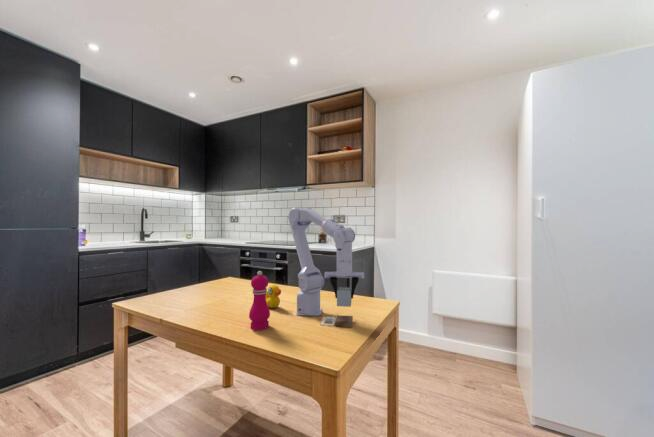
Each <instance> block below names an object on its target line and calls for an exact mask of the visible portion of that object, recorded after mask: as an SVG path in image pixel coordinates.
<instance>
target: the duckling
mask: <svg viewBox="0 0 654 437" xmlns="http://www.w3.org/2000/svg"><path fill="white" fill-rule="evenodd" d="M281 293H282V290H281V289H280V287H279V286H278V285H276V284H272V285H270V286H269V287H268V288H267V293H266V296H265V297H266V303H267V305H268V307H269V309H276V308H278V307H279V305H280V303H281V300H280V297H279V296H280V295H281Z"/></svg>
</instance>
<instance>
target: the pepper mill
mask: <svg viewBox="0 0 654 437" xmlns="http://www.w3.org/2000/svg"><path fill="white" fill-rule="evenodd" d="M256 274H257V275H255V276H253V277H252V278H251V281H250V285H251V287H252V295H253V301H252V305H251V306H250V310H249V314H248V318H249V320H250V329H251V330H252V331H263V330H266V329H268V328H269V326H270V324H269V322H270V321H269V318H270V316H271V312H270V307H268V305H267V303H266V297H265V296H266V293H267V291H268V288H267V287H268V285H269V279H268V277H267V276H266V275H263V271H262V270H258V271H257V272H256Z"/></svg>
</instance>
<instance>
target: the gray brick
mask: <svg viewBox="0 0 654 437" xmlns="http://www.w3.org/2000/svg"><path fill="white" fill-rule="evenodd" d="M351 292H352V287H340V286H339V287H338V286H337V298H336V306H337V307H347V308H350V307H351V306H352V299H351Z"/></svg>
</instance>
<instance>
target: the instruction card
mask: <svg viewBox="0 0 654 437" xmlns="http://www.w3.org/2000/svg"><path fill="white" fill-rule="evenodd" d="M336 317H337V316H323V317H322V319H321V323H320V326H335V327H336Z"/></svg>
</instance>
